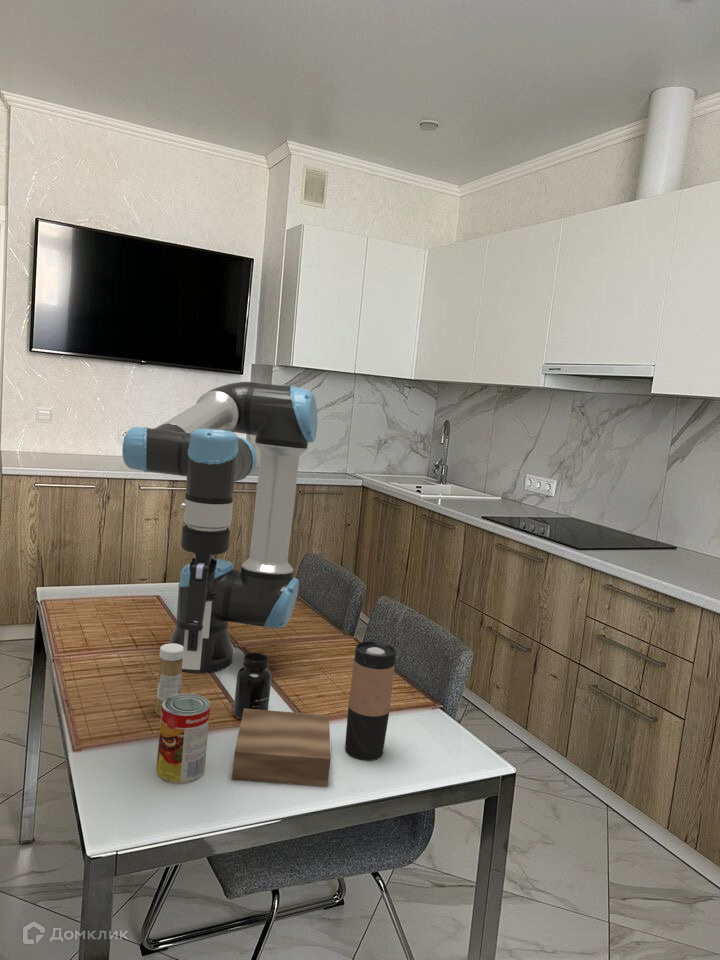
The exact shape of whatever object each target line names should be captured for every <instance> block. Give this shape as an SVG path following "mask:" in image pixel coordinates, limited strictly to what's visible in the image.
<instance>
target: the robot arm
mask: <svg viewBox="0 0 720 960" xmlns="http://www.w3.org/2000/svg"><path fill="white" fill-rule="evenodd" d="M316 401H317V400H316V398H315V395H314V394H313V392H312V391H311V390H309V389H306V388H304V387H303V388H302V387H297V386H288V385H279V384H269V383H262V382H261V383H259V382H254V381H239V382H233V383H229V384H225V385H222V386H217V387H215V388H213V389H211V390H208V391H206V392H205V393H203V394H202V395H201V396H200V397H199V398H198V399H197V401H196V403H195V404H194V405H192V406H190V407H188V408H187V409H185V410H184V411H182V412H180V413H179V414H177V415H175V416H174V417H172V418H170V419H169V420H167V421H165V422H164V423H162V424H160V425H158V426H157V427H155V428H151V427H148V426H143V427H142V426H135V427H134V426H133V427H131V428H129V430H127V432H126V434H125V435H124V438H123V441H122V460H123V463H124V465H126V467H128V469H132V470H137V471H142V472H144V473H153V474H155V473H156V474H163V475H171V476H181V477H186V482H185V484H186V485H185V493H184V494H185V496H184V498H185V499H184V503H181V504H180V509H182V510H185V511H184V512H183V522H184V523H185V525H183V526H182V528H181V529H182V530H181V531H182V532H181V541H180V542H181V543H180V544H181V545H180V546H181V548H182V549H183V550H184V551H186V552H189V553H192V554H194V555H195V557H192V560H191V562H190V563H187V564H185V565H184V566H183V567H182V568H181V570H180V576H179V577H180V578H179V582H178V592H177V593H178V594H177V595H178V596H177V607H176V608H177V609H176V620H175V628H174V631H173V633H172V636H171V637H170V640H169V643H168V644H170V643H174V644H179V645H182V646H183V647H184V649H183V661H182V672H187V673H193V672H194V673H193V674H195V673H197V674H203V673H204V674H206V673H207V672H208V673H215V672H219V671H222V670H225V669H227V668H228V667H230V666H231V665H232V663H233V660H234V659H233V657H234V656H233V655H234V652H233V651H234V650H233V646H232V642H231V638H230V633H229V629H228V627H229V626H228V624H229V622H230V623H236V624H242V625H249V626H255V627H256V626H257V627H261V628H264V629H267V628H270V629H283V628H284V627H285V626H286V625H287V624H288V623H289V621H290V618H291V617H292V614H293V611H294V608H295V606H296V601H297V598H298V592H299V588H300V587H299V586H300V581H299V579H298V578H296V577H294V576H293V574H294V568H293V567H292V565H291V564H290V563H289V562H288V558H289V549H290V542H291V541H290V540H291V533H292V525H293V524H292V523H293V515H294V509H295V508H294V507H295V500H296V499H295V497H296V489H297V483H298V482H297V480H298V472H299V463H300V456H302V455H303V454H304V453H305V452H306V451H307V450H308V446H309V444H311V443H314V442H315V440H316V438H317V431H318V410H317V402H316ZM236 433H238V434H244V435H251V436H255V440H254V441H255V443H254V445H255V446H256V447H257V448H258V450H259V451H260V459H259V465H258V466H259V469H258V477H257V486H256V492H255V494H256V495H255V505H254V514H253V523H252V532H251V541H250V548H249V557H248V558H247V559H246V560H245V561H244V562H243V563H242V564H241V568H240V570H238V569H235V566H234V563H233V562H232V561H231V560H230V561H229V560H227V559H219V558H218V559H215V557H216V555H221V554H225V553H227V551H229V549H230V548H229V547H230V534H231V530H230V529H229V526H231V525H232V520H233V519H232V517H233V508H234V507H233V505H234V501H233V500H234V489H235V483H236V482H238V481H242V480H244V479H246V478H247V476H249V475H250V474H251V473H252V472H253V471H254V469H255V467H256V464H257V460H258V459H257V458H258V457H257V451H256V449H255V447H254V446H253V444H252V443H251V442H250V441H249V440H248V439H245V438H244V437H239V436H238V435H237V434H236Z"/></svg>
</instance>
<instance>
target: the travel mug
mask: <svg viewBox="0 0 720 960" xmlns="http://www.w3.org/2000/svg"><path fill="white" fill-rule="evenodd" d="M354 650H355V651H354V658H353V666H352V672H351V673H352V675H351V683H350V691H349V698H348V705H347V708H348V709H347V718H346V731H345V743H344V749H345V750H344V751H345V752H346V753H347V755H349V756H350V757H352V758H354V759H355V760H361V761H375V760H377V759H379V758H381V757H382V755H383V754H384V753H383V752H384V748H385V742H386V736H387V735H386V734H387V730H388V729H387V728H388V723H389V716H390V709H391V701H392V692H393V684H394V683H393V682H394V675H395V665H396V657H397V649H396V648H395V647H394V646H393V645H391V644H387V645H381V644H378V643H377V641H373V640H368V641H367V640H366V641H362V642H361V641H360V642H358V643H357V644H356V646H355V649H354Z"/></svg>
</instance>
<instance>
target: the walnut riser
mask: <svg viewBox="0 0 720 960" xmlns="http://www.w3.org/2000/svg"><path fill="white" fill-rule="evenodd" d="M239 725H240V726H239V729H238V734H237V738H236V739H237V740H236V743H235V744H236V745H235V748H234V756H233V767H232V775H231V776H232V778H231V781H243V782H244V781H245V782H256V783H257V782H258V783H273V784H287V785H288V784H289V785H298V786H299V785H301V786H314V787H317V786H318V787H326V786H327V787H329V776H330V769H331V760H332V758H331V757H332V755H331V733H330V715H328V714H318V713H307V712H306V713H304V712H293V711H283V710H282V711H280V710H269V709H268V710H257V709H244V710H243V715H242V720H241V719H240V723H239Z"/></svg>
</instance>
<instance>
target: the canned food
mask: <svg viewBox="0 0 720 960" xmlns="http://www.w3.org/2000/svg"><path fill="white" fill-rule="evenodd" d="M210 711H211V702H210V700H209V699H208V698H206V696H202V695H200V694H195V693H190V692H189V693H187V692H183V693H182V692H180V694H175V695H171V696H169V697H167V698H165V699H164V700H163V702H162V706H161V716H160V719H159V733H158V745H157V757H156V758H157V759H156V760H157V761H156V775H157V777H159V778H160V780H162V781H165V782H166V783H171V784H188V783H192V782H195V781H197V780H199V779H200V778H202V776H203V775H204V774H205V769H206V768H205V767H206V756H207V747H208V746H207V745H208V734H209V722H210V715H211V713H210Z"/></svg>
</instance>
